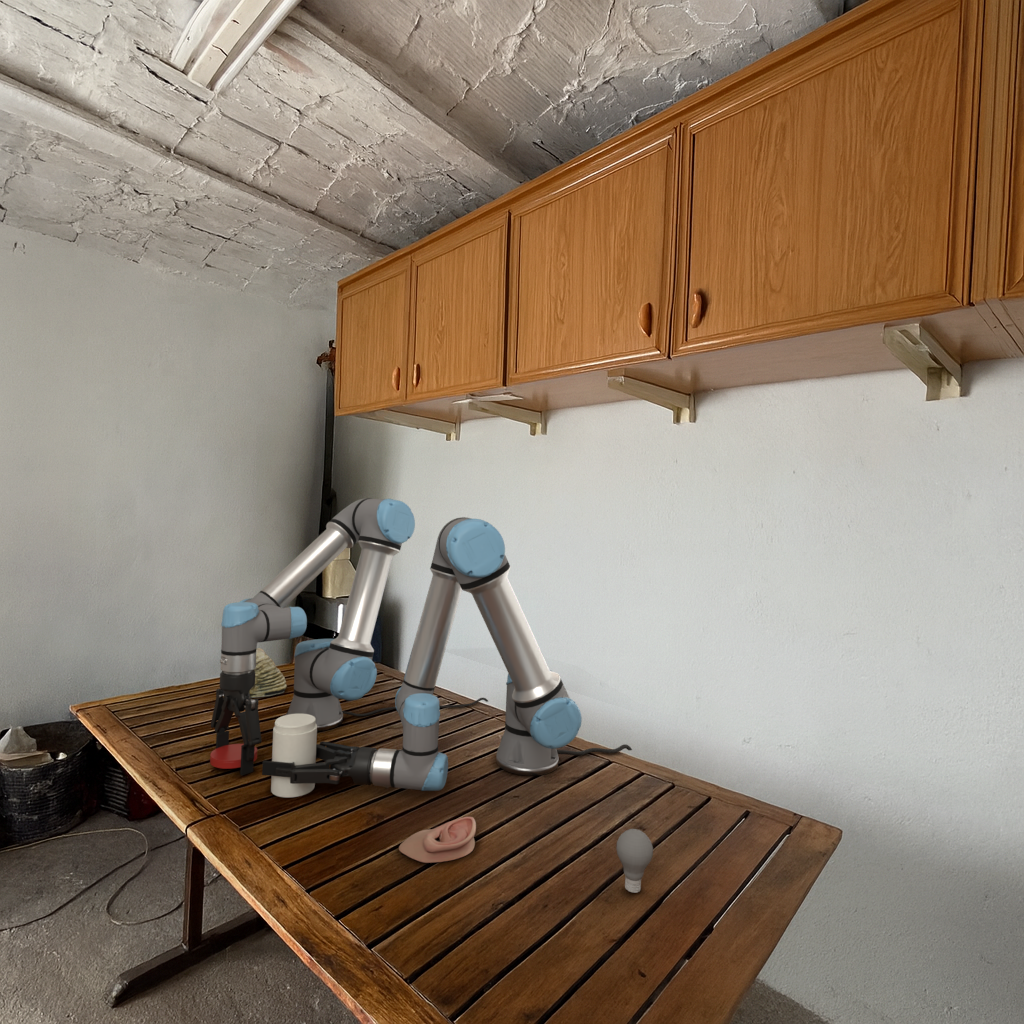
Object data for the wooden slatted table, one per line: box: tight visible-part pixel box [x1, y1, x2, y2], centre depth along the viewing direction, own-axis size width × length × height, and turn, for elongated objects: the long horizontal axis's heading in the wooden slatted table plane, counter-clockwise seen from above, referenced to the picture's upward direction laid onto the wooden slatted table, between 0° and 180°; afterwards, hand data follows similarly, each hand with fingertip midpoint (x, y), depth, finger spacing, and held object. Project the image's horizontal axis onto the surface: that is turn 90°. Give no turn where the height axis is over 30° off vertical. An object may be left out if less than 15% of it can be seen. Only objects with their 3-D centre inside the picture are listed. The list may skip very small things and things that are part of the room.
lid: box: [209, 743, 258, 770], centre depth 146 cm, size 10×10×2 cm
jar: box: [270, 714, 318, 798], centre depth 137 cm, size 9×9×15 cm
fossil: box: [250, 647, 288, 699], centre depth 198 cm, size 9×18×15 cm, turn 132°
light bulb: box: [615, 828, 654, 894], centre depth 106 cm, size 6×6×10 cm
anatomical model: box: [398, 816, 477, 864], centre depth 116 cm, size 13×4×12 cm
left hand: (233, 766), depth 146 cm, fingers closed on lid, 10 cm apart
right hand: (274, 758), depth 138 cm, fingers closed on jar, 9 cm apart
